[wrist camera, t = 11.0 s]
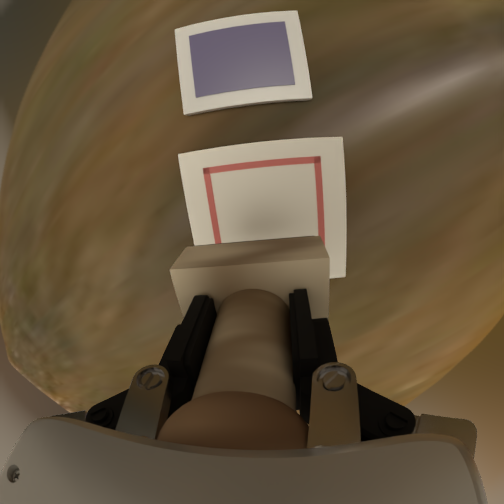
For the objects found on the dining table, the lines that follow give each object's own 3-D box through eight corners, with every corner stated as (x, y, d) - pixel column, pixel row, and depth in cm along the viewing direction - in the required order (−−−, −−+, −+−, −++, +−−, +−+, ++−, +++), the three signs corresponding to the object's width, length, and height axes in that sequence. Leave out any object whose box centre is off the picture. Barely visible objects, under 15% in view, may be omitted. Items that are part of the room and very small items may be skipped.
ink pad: (296, 16, 17) (297, 9, 16) (310, 100, 21) (312, 97, 19) (179, 33, 19) (174, 28, 17) (188, 115, 22) (183, 114, 21)
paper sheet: (341, 136, 22) (342, 136, 21) (344, 275, 27) (345, 277, 27) (178, 154, 24) (177, 154, 23) (204, 285, 29) (203, 287, 29)
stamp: (318, 231, 13) (404, 503, 2) (318, 320, 15) (346, 533, 4) (189, 242, 14) (49, 463, 3) (209, 326, 16) (151, 521, 5)
